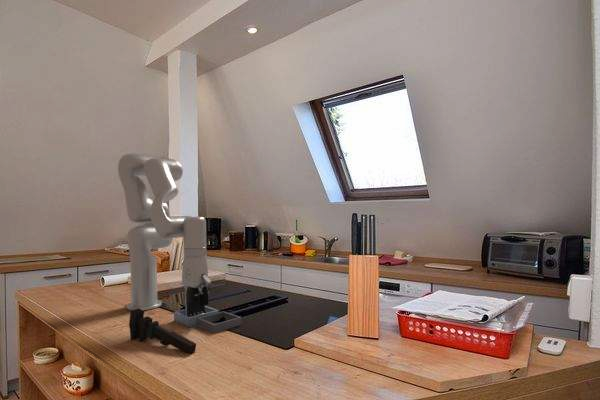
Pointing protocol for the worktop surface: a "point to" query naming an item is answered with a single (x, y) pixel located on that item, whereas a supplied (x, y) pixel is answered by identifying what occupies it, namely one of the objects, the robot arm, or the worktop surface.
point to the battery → (193, 302)
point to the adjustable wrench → (156, 332)
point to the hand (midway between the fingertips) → (196, 302)
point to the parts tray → (192, 321)
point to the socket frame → (230, 323)
